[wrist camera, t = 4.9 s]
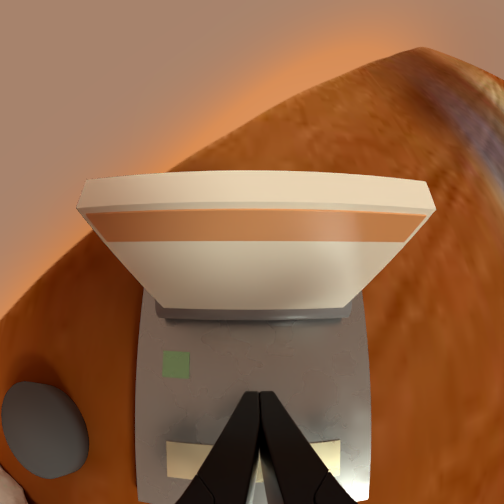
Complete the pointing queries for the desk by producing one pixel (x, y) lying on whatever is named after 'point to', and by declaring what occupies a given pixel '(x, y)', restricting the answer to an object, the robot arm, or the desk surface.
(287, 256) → the bowl
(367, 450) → the grey flat slab
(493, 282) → the desk surface
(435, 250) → the desk surface
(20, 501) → the decorative stone
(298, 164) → the desk surface
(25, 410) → the grey river pebble
